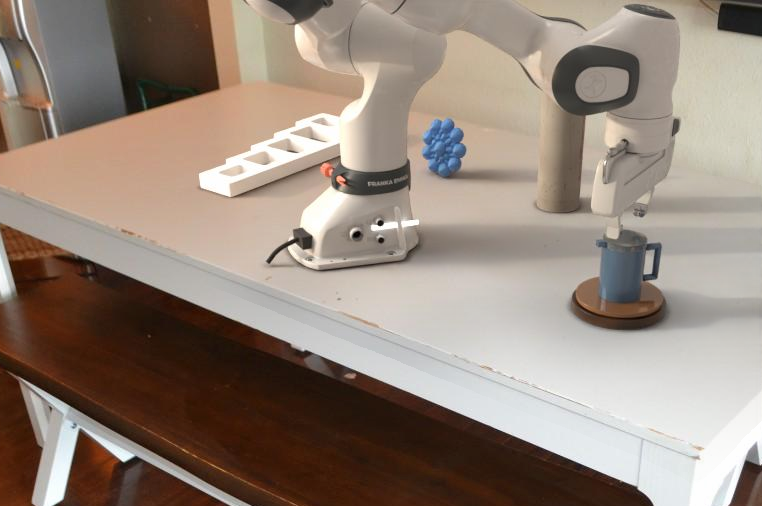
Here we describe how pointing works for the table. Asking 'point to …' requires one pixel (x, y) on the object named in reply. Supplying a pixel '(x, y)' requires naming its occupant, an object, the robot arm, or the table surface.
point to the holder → (277, 156)
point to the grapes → (443, 147)
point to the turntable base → (615, 321)
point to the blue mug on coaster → (623, 278)
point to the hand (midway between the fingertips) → (627, 225)
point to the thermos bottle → (559, 158)
